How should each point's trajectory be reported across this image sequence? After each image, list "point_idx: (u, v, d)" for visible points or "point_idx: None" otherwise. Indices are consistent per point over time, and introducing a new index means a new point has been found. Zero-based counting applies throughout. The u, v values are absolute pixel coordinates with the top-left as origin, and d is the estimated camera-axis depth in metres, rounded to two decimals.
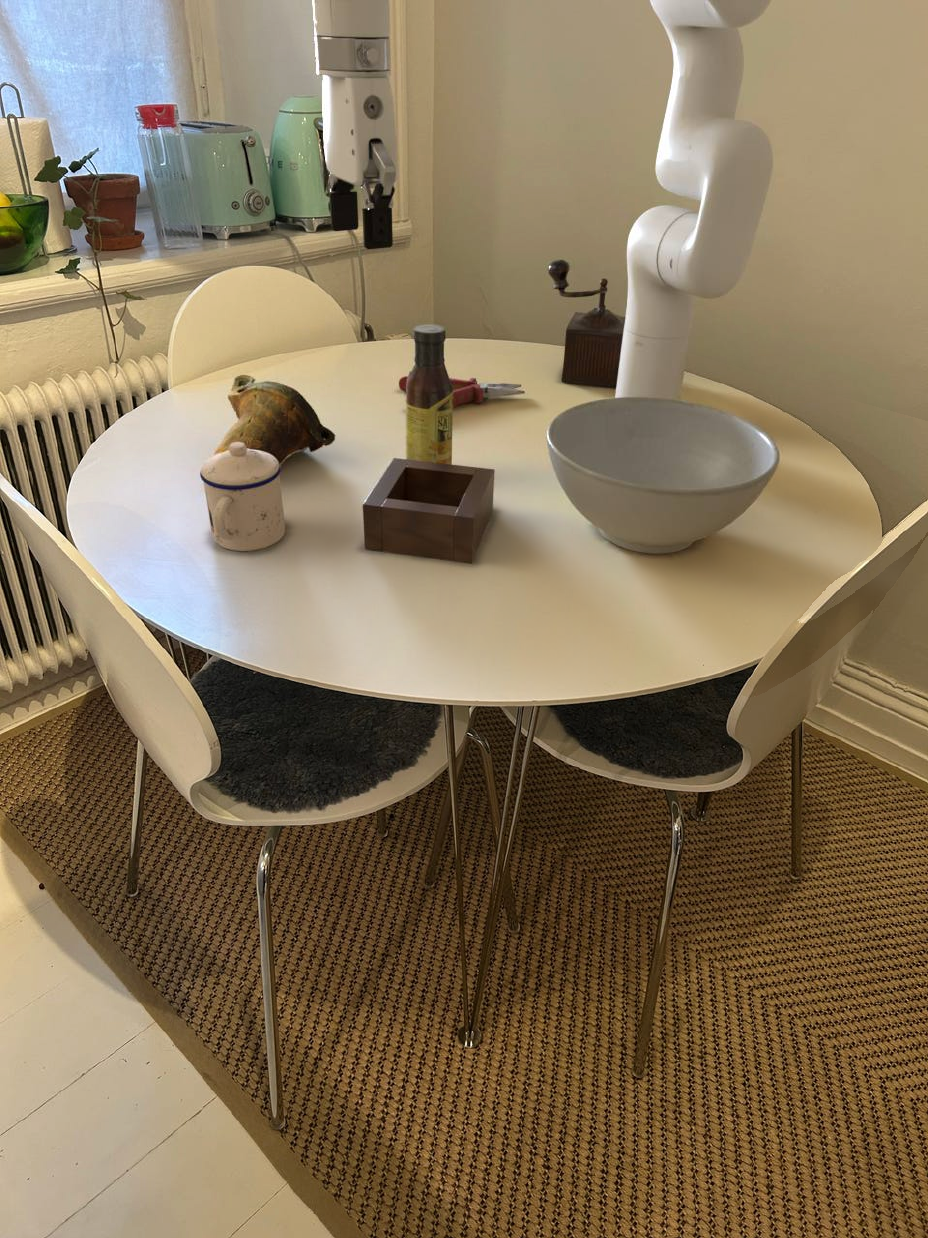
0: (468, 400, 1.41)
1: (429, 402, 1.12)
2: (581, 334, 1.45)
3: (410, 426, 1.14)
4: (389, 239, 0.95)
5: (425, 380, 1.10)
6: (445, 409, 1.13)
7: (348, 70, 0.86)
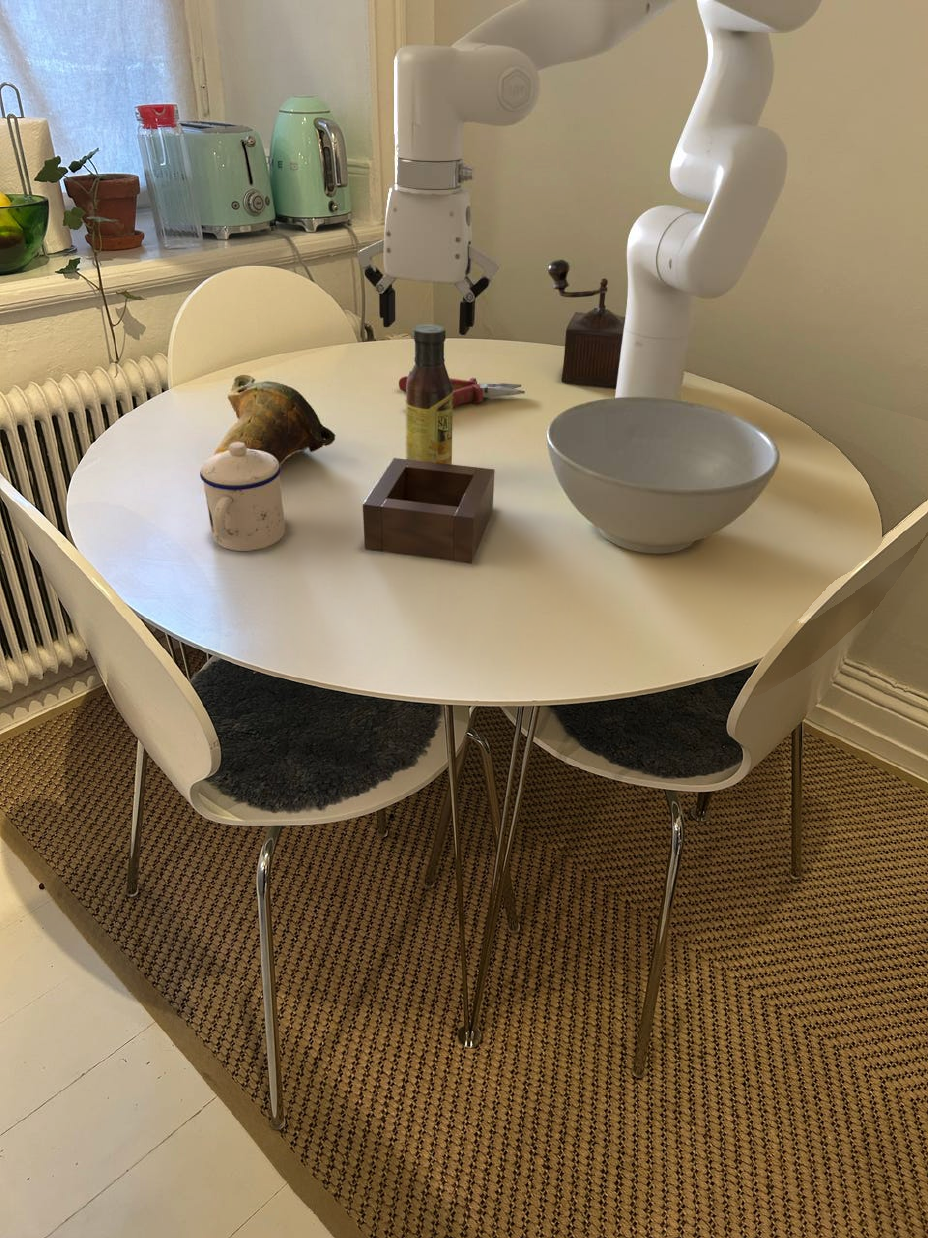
0: (468, 400, 1.41)
1: (429, 402, 1.12)
2: (581, 334, 1.45)
3: (410, 426, 1.14)
4: None
5: (425, 380, 1.10)
6: (445, 409, 1.13)
7: (452, 188, 0.97)
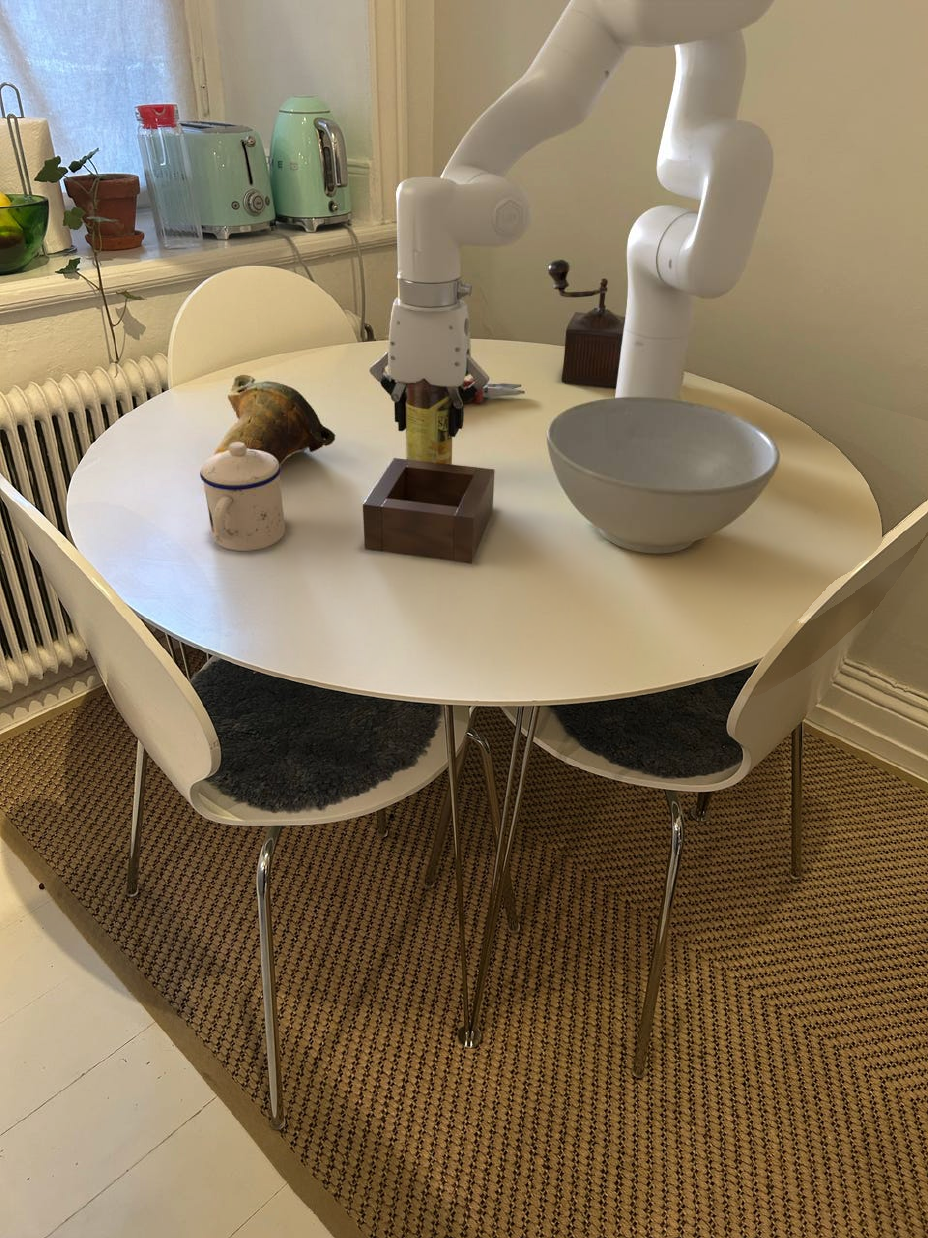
0: None
1: (429, 402, 1.12)
2: (581, 334, 1.45)
3: (410, 426, 1.14)
4: None
5: (425, 380, 1.10)
6: (446, 409, 1.13)
7: (451, 304, 1.05)
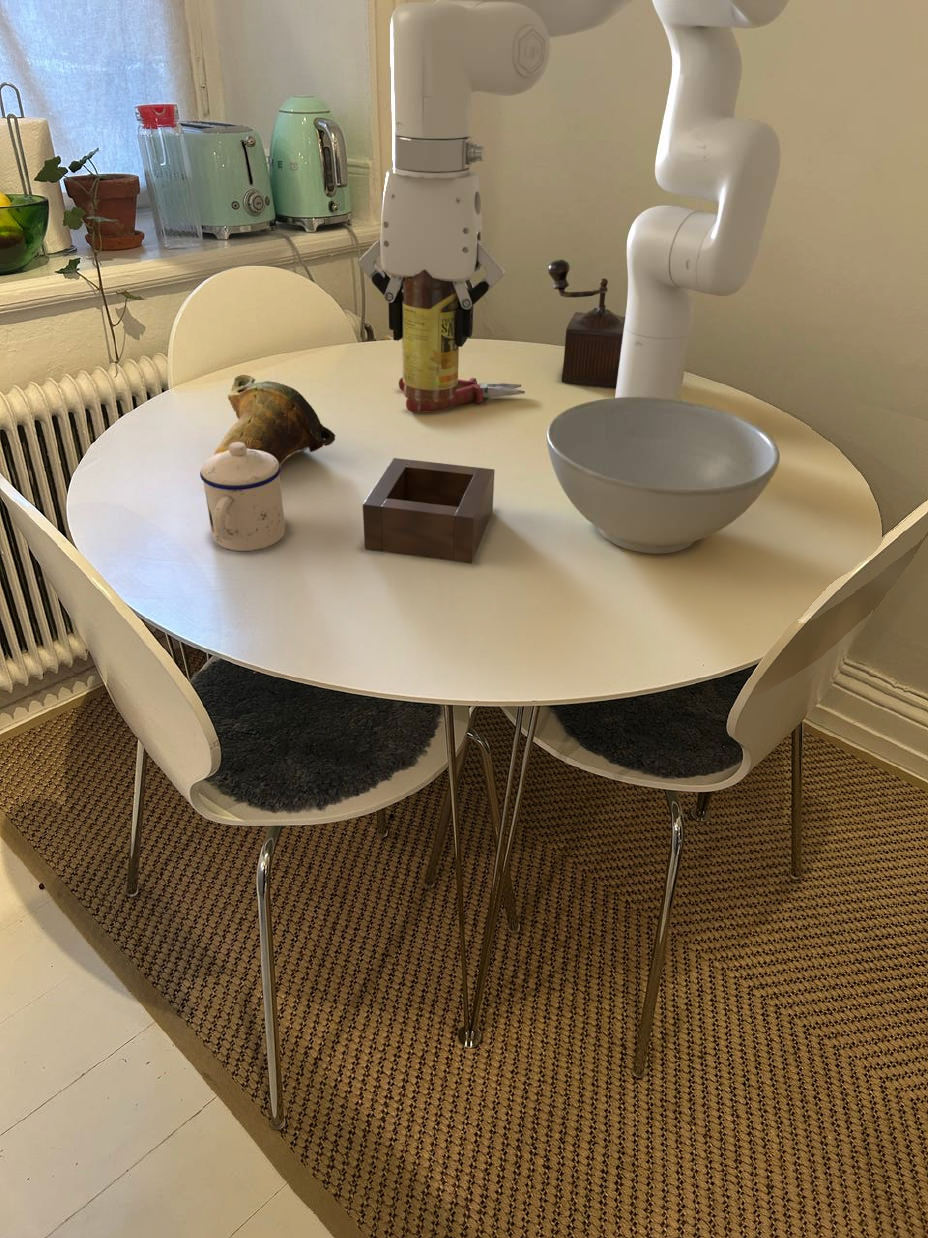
0: (468, 400, 1.41)
1: (431, 301, 0.91)
2: (581, 334, 1.45)
3: (408, 333, 0.94)
4: None
5: (426, 272, 0.90)
6: (451, 311, 0.92)
7: (459, 170, 0.84)
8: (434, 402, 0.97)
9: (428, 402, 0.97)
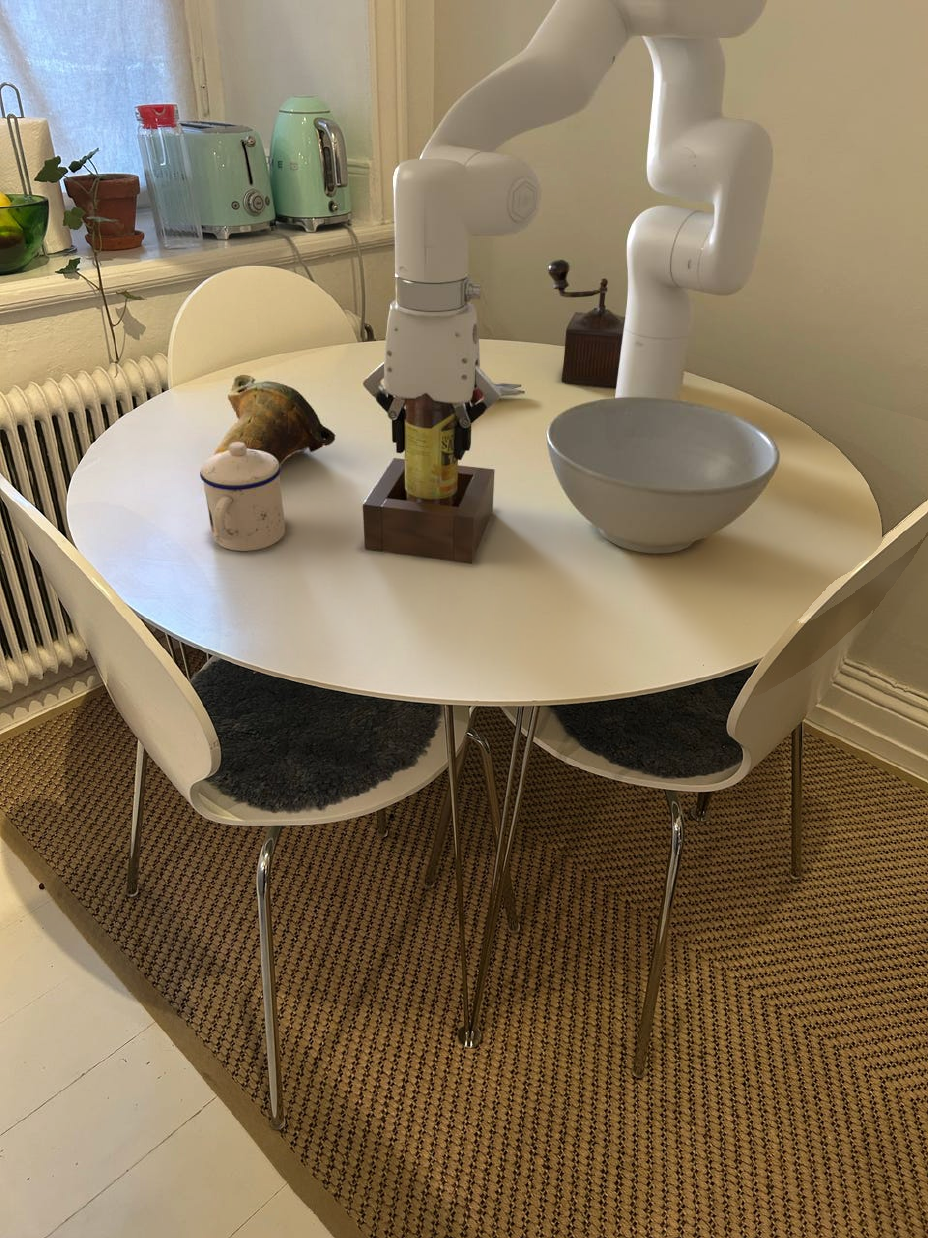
0: None
1: (432, 421, 0.97)
2: (581, 334, 1.45)
3: (410, 448, 0.99)
4: None
5: (427, 395, 0.96)
6: (451, 429, 0.98)
7: (457, 308, 0.90)
8: None
9: None
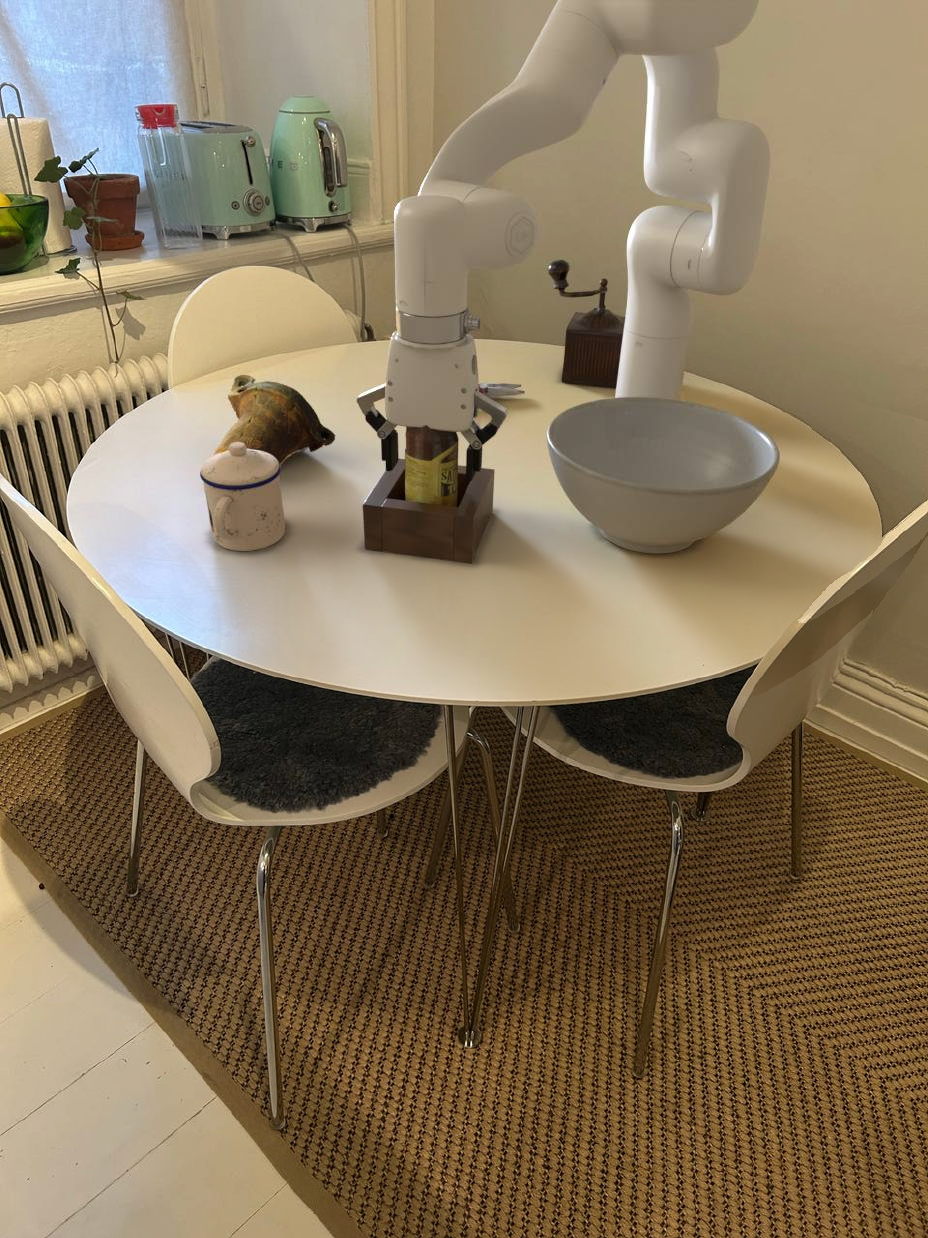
0: None
1: (431, 454, 0.99)
2: (581, 334, 1.45)
3: (410, 479, 1.02)
4: None
5: (427, 429, 0.98)
6: (450, 461, 1.00)
7: (457, 340, 0.92)
8: None
9: None
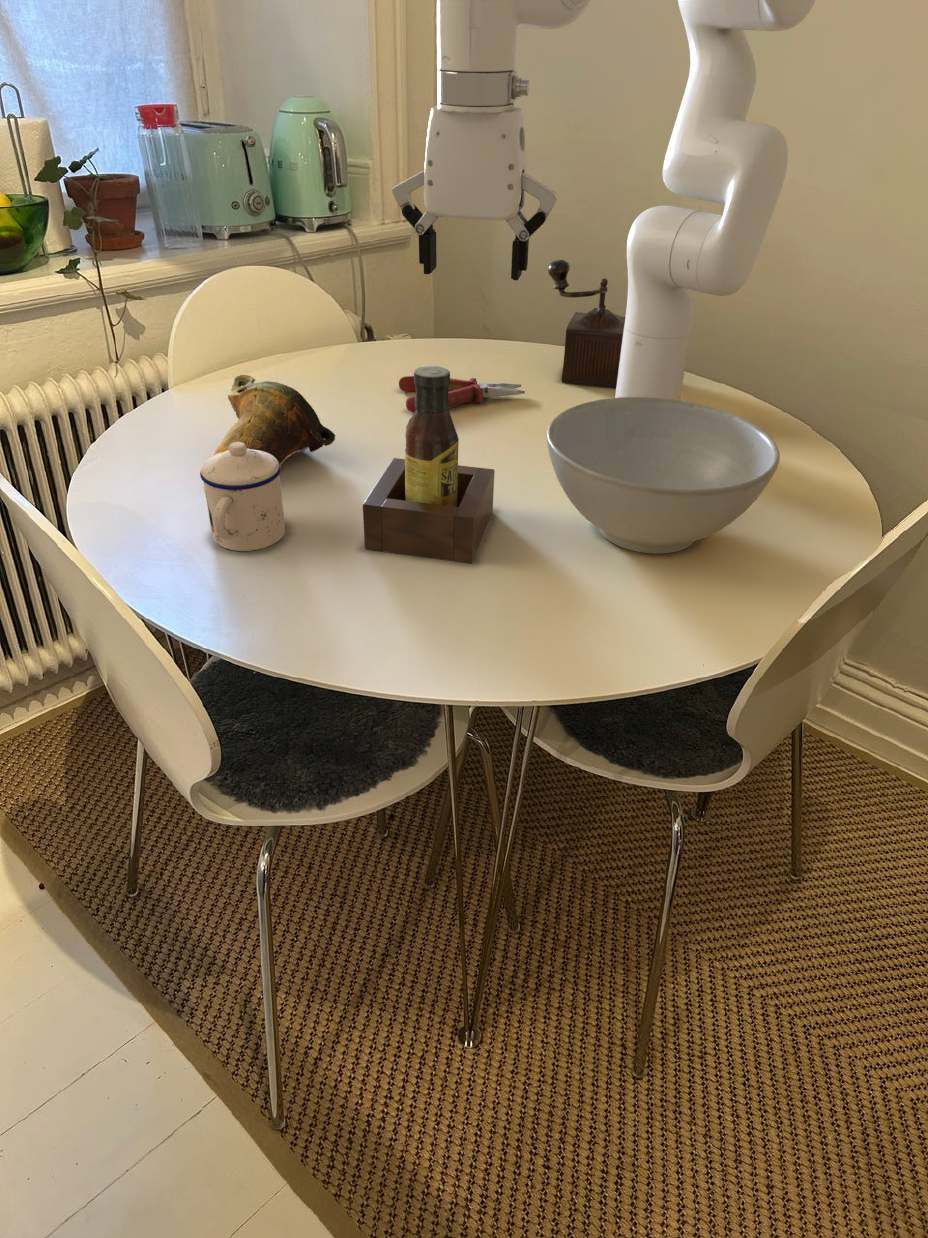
0: (468, 400, 1.41)
1: (431, 454, 0.99)
2: (581, 334, 1.45)
3: (410, 479, 1.02)
4: None
5: (427, 429, 0.98)
6: (450, 461, 1.00)
7: (504, 104, 0.84)
8: None
9: None
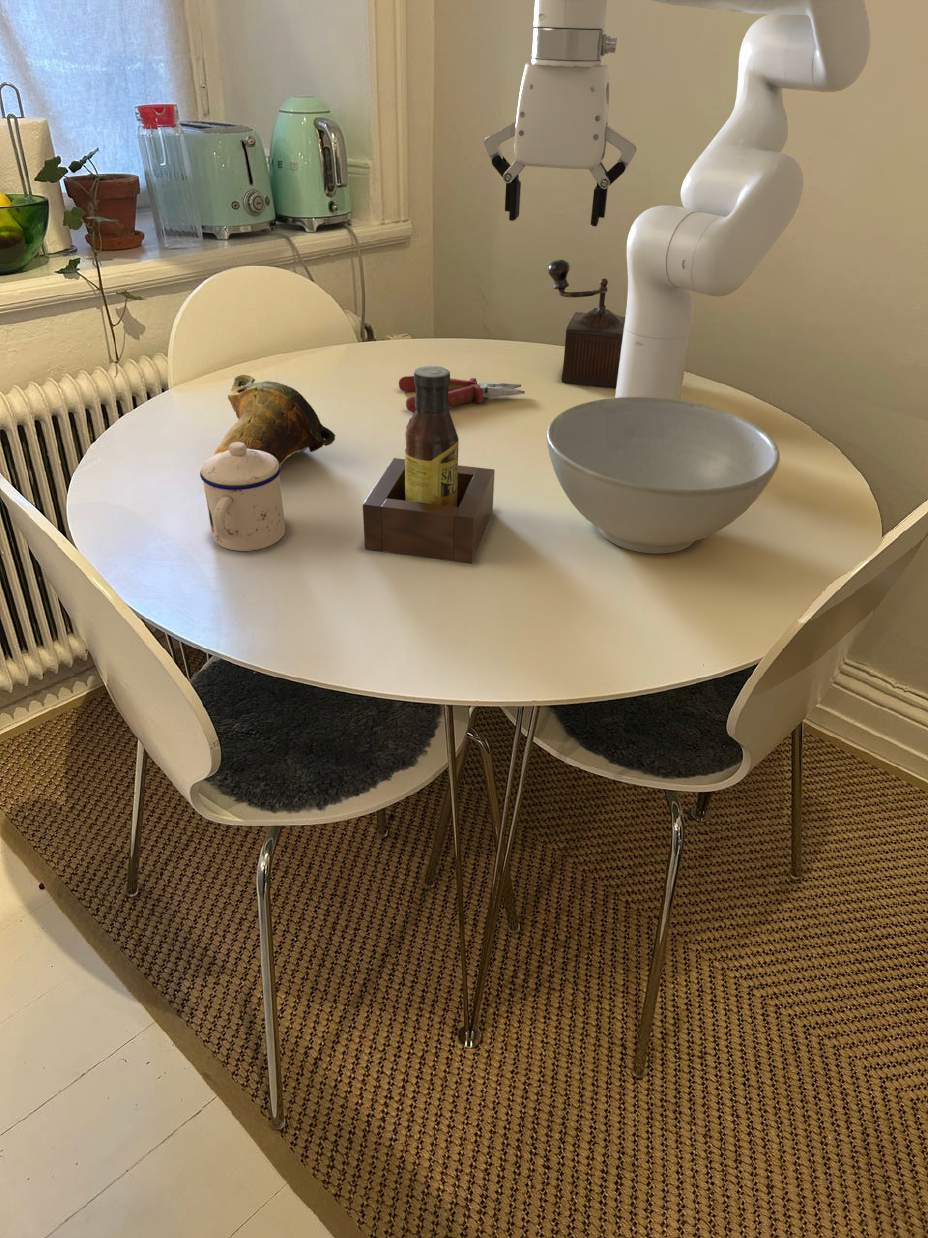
0: (468, 400, 1.41)
1: (431, 454, 0.99)
2: (581, 334, 1.45)
3: (410, 479, 1.02)
4: None
5: (427, 429, 0.98)
6: (450, 461, 1.00)
7: (595, 60, 0.92)
8: None
9: None
